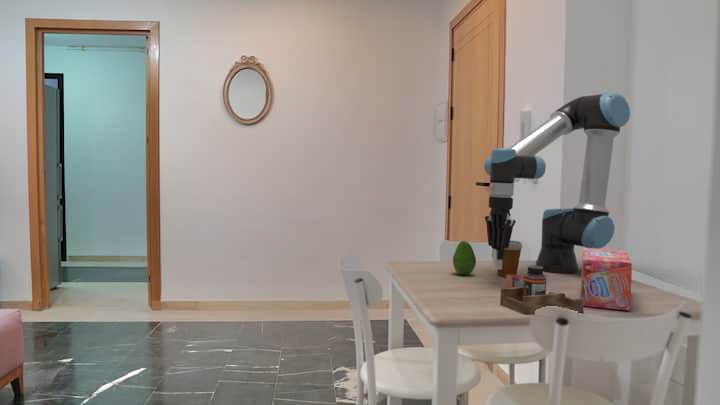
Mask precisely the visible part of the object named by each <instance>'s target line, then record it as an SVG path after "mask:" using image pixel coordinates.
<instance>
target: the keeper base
mask: <svg viewBox="0 0 720 405" xmlns="http://www.w3.org/2000/svg"><path fill="white" fill-rule="evenodd" d="M499 303H500V304H499V305H501V306H503V307H506V308H508V309H511V310H514V311H515V312H519V313H521V314H524V315H531V314H535V313H534V312H535V311H536V310H537V309H540V308H542V307H546V306H558V307H562V308H564V309H565V308H568V309H570V310H574V311H578V312H583V313H584V307H585V306H584V300H583V299H581V298H571V297H570V296H566V293H563V292H553V291H551V292H548V293H546V294H543V295H532V296H523V287H514V288H506V287H502V288H500V302H499Z"/></svg>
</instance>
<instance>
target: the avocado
mask: <svg viewBox="0 0 720 405" xmlns="http://www.w3.org/2000/svg"><path fill="white" fill-rule="evenodd" d="M476 261H477V258H476V255H475V253H474V249H473V247H472V245H471V244H470V242H468V241H466V240H462V241H460V242H459V243H458V244H457V246H456V249H455V251H454V254H453V257H452V263H453V268H454V270H455V272H456V273H458V274H459V275H462V276H463V275H464V276H465V275H469V274H470V273H472V272H473V271H474V270H475V267H476Z"/></svg>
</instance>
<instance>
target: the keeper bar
mask: <svg viewBox="0 0 720 405" xmlns="http://www.w3.org/2000/svg"><path fill="white" fill-rule="evenodd" d="M505 278H506V279H505V288H514V287H523V285H524V280H520V275H518V274H517V275H515V274H506V277H505Z"/></svg>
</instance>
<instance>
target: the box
mask: <svg viewBox="0 0 720 405" xmlns="http://www.w3.org/2000/svg"><path fill="white" fill-rule="evenodd" d="M581 264H582V265H581V277H580V279H581V280H580V299H583V300H584V307H592V308H602V309H610V310H612V309H613V310H619V311H628V312H630V310H631V301H632V300H631V299H632V298H631V296H632V291H631V290H632V277H633V275H632V274H633V262H632V261H631V258H630V257H629V255H628V254H627V251H626V250H616V249H602V248H599V249H595V248H586V247H583V249H582V262H581Z"/></svg>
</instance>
